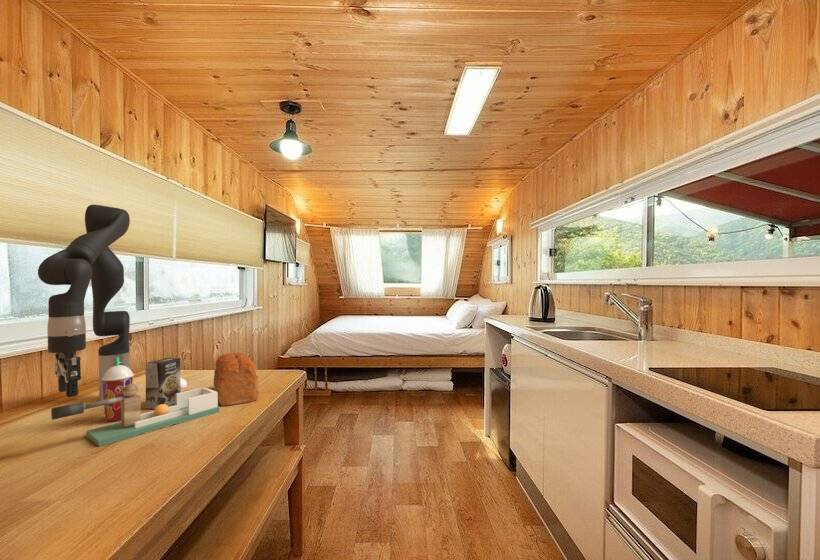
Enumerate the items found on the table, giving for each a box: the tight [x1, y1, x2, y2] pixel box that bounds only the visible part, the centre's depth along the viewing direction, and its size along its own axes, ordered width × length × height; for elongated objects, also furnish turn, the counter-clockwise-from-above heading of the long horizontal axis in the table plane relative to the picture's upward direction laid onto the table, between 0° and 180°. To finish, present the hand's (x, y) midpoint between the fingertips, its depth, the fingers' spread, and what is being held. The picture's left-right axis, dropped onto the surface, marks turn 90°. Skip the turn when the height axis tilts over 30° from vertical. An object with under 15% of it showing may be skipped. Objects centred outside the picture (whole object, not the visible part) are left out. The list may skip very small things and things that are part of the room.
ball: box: [153, 404, 170, 416], centre depth 117 cm, size 4×4×4 cm
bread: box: [213, 352, 260, 407], centre depth 144 cm, size 14×27×15 cm, turn 31°
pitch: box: [85, 387, 220, 447], centre depth 116 cm, size 12×32×6 cm, turn 143°
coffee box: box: [145, 357, 182, 410], centre depth 133 cm, size 9×6×16 cm
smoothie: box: [101, 357, 135, 423], centre depth 120 cm, size 8×8×20 cm
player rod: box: [50, 383, 142, 427], centre depth 104 cm, size 4×19×12 cm, turn 143°
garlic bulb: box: [180, 376, 188, 390], centre depth 154 cm, size 6×6×8 cm
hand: (68, 393), depth 99 cm, fingers open, 8 cm apart
